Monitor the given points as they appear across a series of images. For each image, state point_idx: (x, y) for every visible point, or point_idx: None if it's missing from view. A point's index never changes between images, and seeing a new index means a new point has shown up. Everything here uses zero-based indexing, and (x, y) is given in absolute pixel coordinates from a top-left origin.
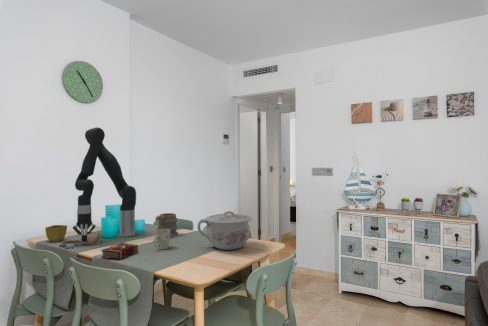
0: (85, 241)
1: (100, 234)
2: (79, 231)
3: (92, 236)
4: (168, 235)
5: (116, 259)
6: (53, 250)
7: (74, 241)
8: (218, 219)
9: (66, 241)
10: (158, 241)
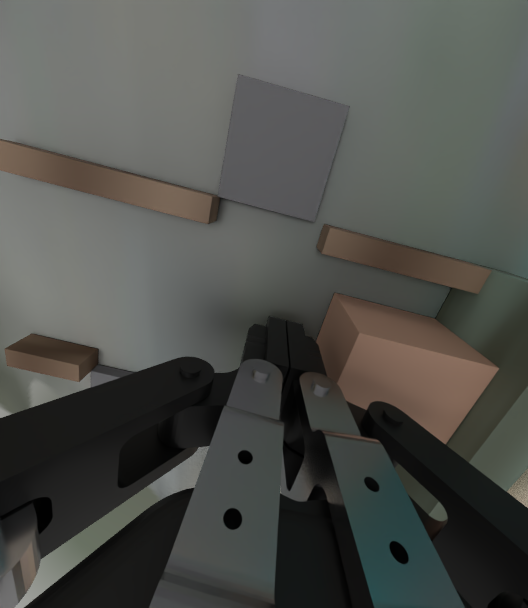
0: (309, 219)
1: (526, 459)
2: (168, 411)
3: (398, 395)
4: None
5: None
6: (8, 409)
7: (160, 210)
8: None
9: (43, 180)
10: None
